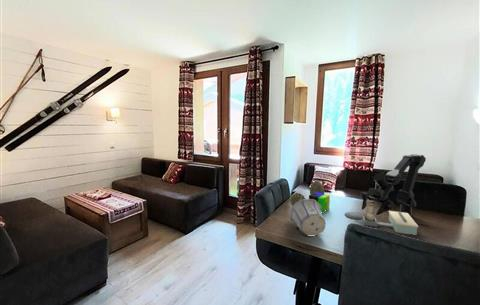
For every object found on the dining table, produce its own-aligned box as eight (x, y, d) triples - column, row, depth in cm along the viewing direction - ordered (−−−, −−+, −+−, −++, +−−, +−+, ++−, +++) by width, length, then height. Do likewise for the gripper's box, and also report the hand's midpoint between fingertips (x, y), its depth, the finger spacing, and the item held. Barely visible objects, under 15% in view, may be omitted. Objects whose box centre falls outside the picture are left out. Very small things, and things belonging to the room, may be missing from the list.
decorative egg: (307, 197, 178) (308, 179, 176) (321, 197, 177) (322, 179, 175) (311, 202, 167) (312, 182, 165) (326, 202, 167) (326, 182, 165)
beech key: (364, 221, 133) (365, 200, 132) (373, 222, 132) (374, 201, 130) (365, 224, 129) (366, 202, 128) (374, 225, 127) (376, 203, 126)
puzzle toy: (315, 205, 160) (315, 192, 159) (329, 209, 153) (329, 195, 151) (308, 209, 153) (309, 195, 152) (322, 213, 146) (323, 198, 144)
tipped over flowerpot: (333, 212, 111) (310, 183, 139) (298, 215, 109) (282, 185, 137) (329, 240, 117) (308, 206, 145) (296, 243, 116) (281, 208, 144)
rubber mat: (344, 212, 147) (344, 211, 147) (361, 214, 143) (361, 213, 143) (344, 217, 138) (345, 217, 138) (363, 220, 134) (363, 219, 134)
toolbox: (361, 215, 142) (361, 205, 141) (407, 221, 132) (407, 211, 132) (364, 227, 125) (365, 217, 124) (417, 235, 115) (418, 224, 115)
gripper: (363, 179, 138) (349, 198, 135) (393, 187, 121) (378, 209, 118) (371, 190, 142) (357, 209, 139) (401, 199, 124) (387, 221, 122)
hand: (369, 211), depth 129 cm, fingers open, 9 cm apart
